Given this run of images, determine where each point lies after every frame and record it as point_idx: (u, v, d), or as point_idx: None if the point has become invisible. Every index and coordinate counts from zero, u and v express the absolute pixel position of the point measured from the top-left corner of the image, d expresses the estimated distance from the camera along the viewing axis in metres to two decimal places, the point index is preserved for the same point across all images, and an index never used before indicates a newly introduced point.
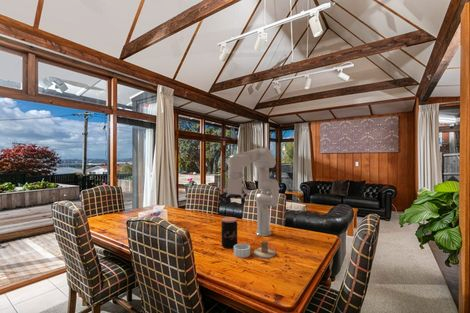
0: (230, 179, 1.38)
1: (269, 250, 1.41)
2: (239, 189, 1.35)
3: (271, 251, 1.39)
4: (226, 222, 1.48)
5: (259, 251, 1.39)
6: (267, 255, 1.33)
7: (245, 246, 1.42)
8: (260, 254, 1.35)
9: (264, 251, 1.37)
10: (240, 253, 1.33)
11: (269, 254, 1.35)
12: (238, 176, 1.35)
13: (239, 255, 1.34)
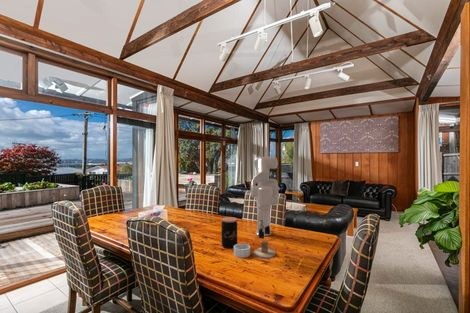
0: (266, 212, 1.36)
1: (269, 250, 1.41)
2: (269, 219, 1.41)
3: (271, 251, 1.39)
4: (226, 222, 1.48)
5: (259, 251, 1.39)
6: (267, 255, 1.33)
7: (245, 246, 1.42)
8: (260, 254, 1.35)
9: (264, 251, 1.37)
10: (240, 253, 1.33)
11: (269, 254, 1.35)
12: None
13: (239, 255, 1.34)
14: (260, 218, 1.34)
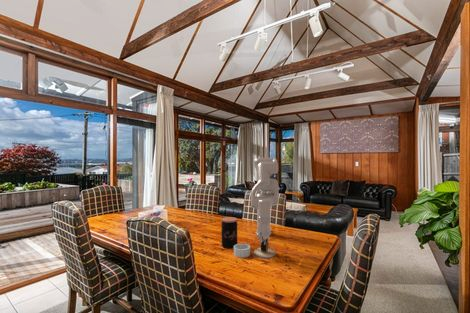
0: (266, 224, 1.36)
1: (269, 250, 1.41)
2: (270, 231, 1.41)
3: (271, 251, 1.39)
4: (226, 222, 1.48)
5: (259, 251, 1.39)
6: (267, 255, 1.33)
7: (245, 246, 1.42)
8: (260, 254, 1.35)
9: (264, 251, 1.37)
10: (240, 253, 1.33)
11: (269, 254, 1.35)
12: None
13: (239, 255, 1.34)
14: (260, 231, 1.35)
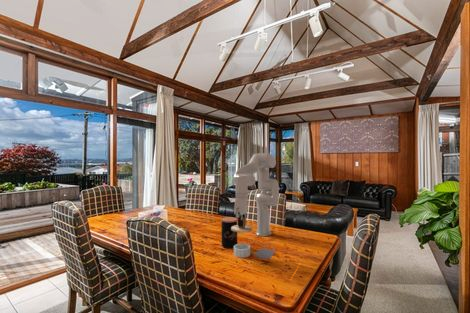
0: (243, 200, 1.36)
1: (247, 226, 1.40)
2: (247, 207, 1.41)
3: (248, 227, 1.39)
4: (226, 222, 1.48)
5: (236, 227, 1.39)
6: (243, 230, 1.33)
7: (245, 246, 1.42)
8: (237, 229, 1.35)
9: None
10: (240, 253, 1.33)
11: (245, 229, 1.35)
12: None
13: (239, 255, 1.34)
14: (237, 206, 1.35)
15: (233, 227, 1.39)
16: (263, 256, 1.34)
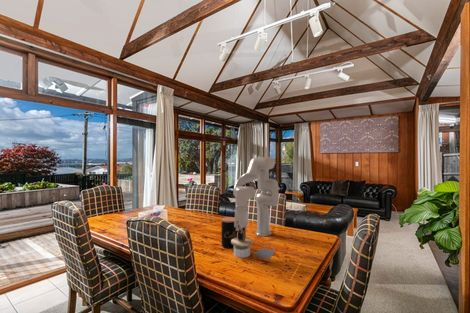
0: (243, 213, 1.35)
1: (246, 239, 1.40)
2: (247, 220, 1.41)
3: (248, 240, 1.39)
4: (226, 222, 1.48)
5: (236, 240, 1.39)
6: (243, 243, 1.33)
7: (245, 246, 1.42)
8: (237, 242, 1.34)
9: (241, 240, 1.37)
10: (240, 253, 1.33)
11: (245, 242, 1.35)
12: None
13: (239, 255, 1.34)
14: (237, 219, 1.34)
15: (233, 240, 1.39)
16: (263, 256, 1.34)
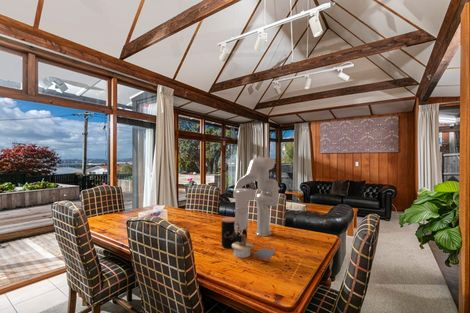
0: (243, 215, 1.35)
1: (247, 243, 1.40)
2: (247, 222, 1.41)
3: (249, 244, 1.39)
4: (226, 222, 1.48)
5: (237, 244, 1.39)
6: (244, 248, 1.33)
7: None
8: (237, 247, 1.34)
9: (242, 244, 1.37)
10: (240, 253, 1.33)
11: (246, 247, 1.35)
12: None
13: (239, 255, 1.34)
14: (237, 221, 1.34)
15: (234, 244, 1.39)
16: (263, 256, 1.34)
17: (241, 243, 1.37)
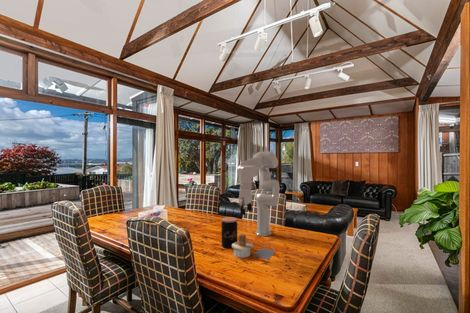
0: (247, 190, 1.41)
1: (247, 243, 1.40)
2: (251, 197, 1.46)
3: (249, 244, 1.39)
4: (226, 222, 1.48)
5: (237, 244, 1.39)
6: (244, 248, 1.33)
7: None
8: (237, 247, 1.34)
9: (242, 244, 1.37)
10: (240, 253, 1.33)
11: (246, 247, 1.35)
12: None
13: (239, 255, 1.34)
14: (241, 196, 1.40)
15: (234, 244, 1.39)
16: (263, 256, 1.34)
17: (241, 243, 1.37)
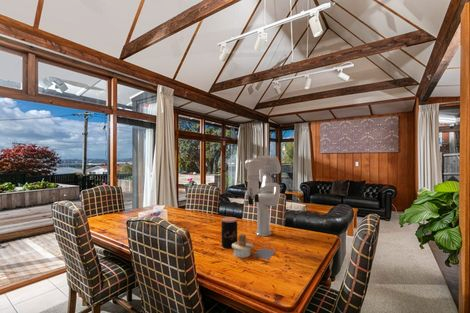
0: (255, 181, 1.51)
1: (247, 243, 1.40)
2: (258, 189, 1.57)
3: (249, 244, 1.39)
4: (226, 222, 1.48)
5: (237, 244, 1.39)
6: (244, 248, 1.33)
7: None
8: (237, 247, 1.34)
9: (242, 244, 1.37)
10: (240, 253, 1.33)
11: (246, 247, 1.35)
12: None
13: (239, 255, 1.34)
14: (249, 187, 1.50)
15: (234, 244, 1.39)
16: (263, 256, 1.34)
17: (241, 243, 1.37)
